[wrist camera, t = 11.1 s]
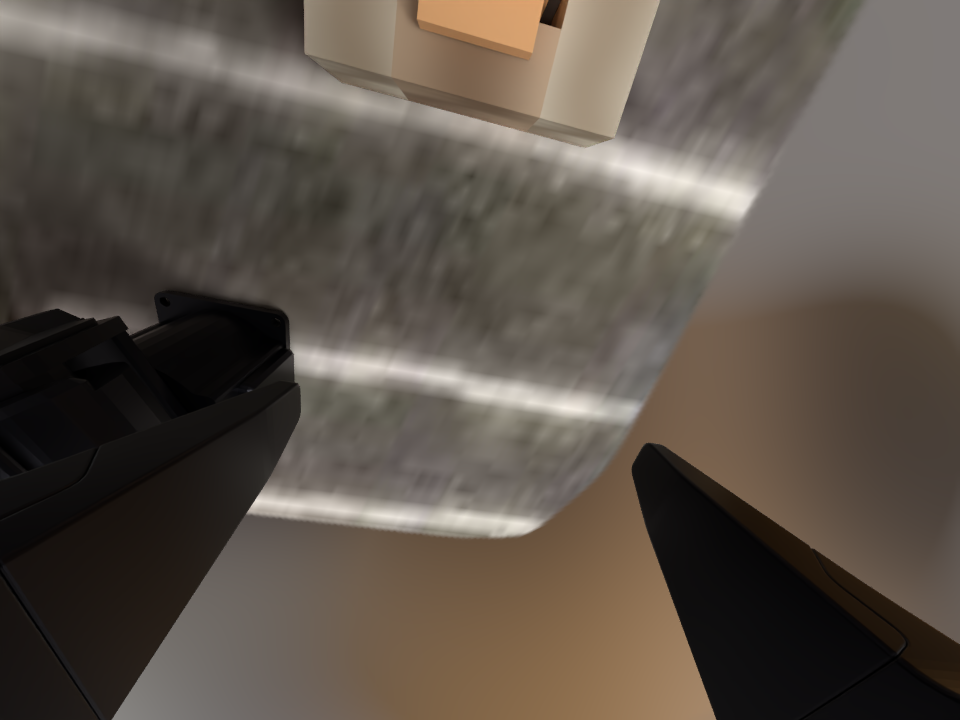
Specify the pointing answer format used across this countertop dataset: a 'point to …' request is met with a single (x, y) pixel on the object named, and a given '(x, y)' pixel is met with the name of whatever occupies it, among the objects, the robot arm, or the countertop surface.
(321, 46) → the beige notched square frame
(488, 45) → the block
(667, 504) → the robot arm
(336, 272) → the countertop surface
